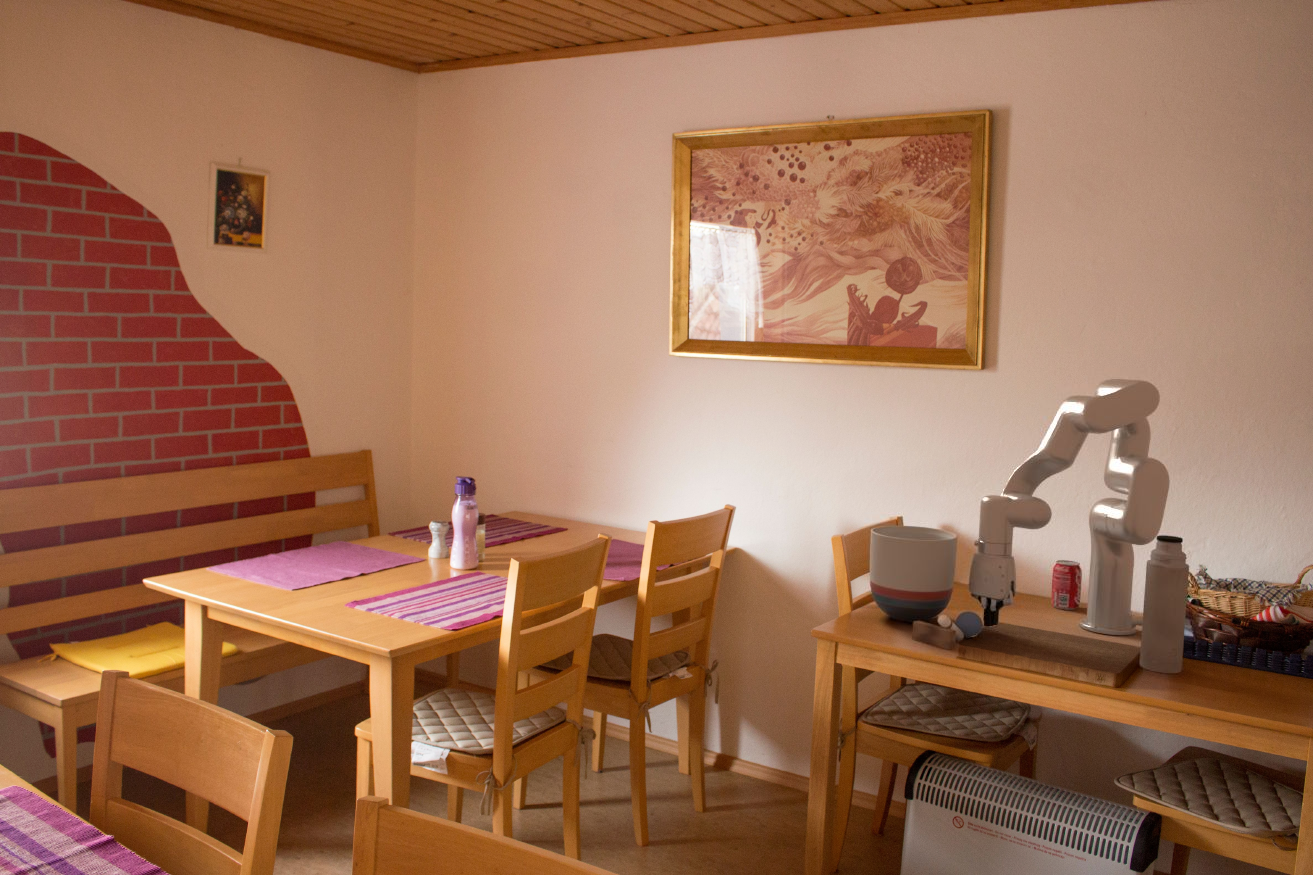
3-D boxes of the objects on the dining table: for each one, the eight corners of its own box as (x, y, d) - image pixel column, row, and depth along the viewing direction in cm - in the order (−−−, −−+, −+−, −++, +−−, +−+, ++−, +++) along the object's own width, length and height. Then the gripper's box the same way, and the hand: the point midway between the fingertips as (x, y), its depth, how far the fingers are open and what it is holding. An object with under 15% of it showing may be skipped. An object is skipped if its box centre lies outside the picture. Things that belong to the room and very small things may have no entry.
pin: (963, 629, 232) (948, 613, 227) (964, 639, 231) (948, 623, 225) (953, 631, 233) (937, 615, 228) (953, 641, 232) (937, 625, 227)
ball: (961, 623, 230) (965, 646, 232) (985, 614, 231) (989, 637, 233) (948, 612, 236) (953, 634, 238) (972, 603, 236) (976, 625, 238)
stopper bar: (912, 638, 232) (913, 621, 231) (917, 637, 233) (918, 620, 233) (949, 649, 224) (950, 631, 224) (954, 648, 225) (955, 630, 225)
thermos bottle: (1147, 659, 221) (1157, 531, 219) (1187, 668, 215) (1196, 537, 213) (1133, 666, 215) (1142, 535, 213) (1173, 675, 210) (1183, 541, 208)
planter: (864, 606, 261) (868, 523, 259) (946, 611, 258) (951, 528, 256) (869, 627, 241) (873, 537, 239) (958, 633, 238) (963, 542, 236)
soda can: (1074, 605, 269) (1077, 560, 269) (1083, 611, 262) (1086, 565, 262) (1047, 603, 270) (1050, 558, 269) (1054, 610, 263) (1057, 564, 262)
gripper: (958, 544, 242) (953, 621, 243) (1014, 555, 230) (1009, 635, 231) (976, 542, 246) (972, 616, 248) (1033, 552, 235) (1028, 630, 236)
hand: (990, 625), depth 240 cm, fingers closed
